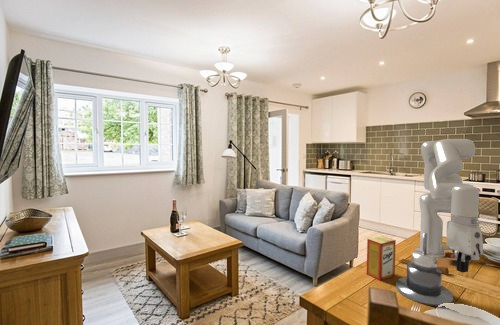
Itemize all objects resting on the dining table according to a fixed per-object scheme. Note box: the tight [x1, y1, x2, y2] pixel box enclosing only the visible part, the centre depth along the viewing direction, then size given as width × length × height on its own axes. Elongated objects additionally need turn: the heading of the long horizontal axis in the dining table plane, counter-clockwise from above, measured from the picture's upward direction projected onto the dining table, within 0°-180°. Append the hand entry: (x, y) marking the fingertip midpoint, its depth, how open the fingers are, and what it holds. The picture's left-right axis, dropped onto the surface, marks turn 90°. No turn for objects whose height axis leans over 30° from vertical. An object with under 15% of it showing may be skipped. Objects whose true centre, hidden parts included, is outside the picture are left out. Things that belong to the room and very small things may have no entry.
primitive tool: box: [398, 258, 450, 276], centre depth 122 cm, size 19×6×4 cm, turn 44°
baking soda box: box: [366, 235, 397, 282], centre depth 113 cm, size 10×6×16 cm
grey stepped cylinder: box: [395, 262, 454, 307], centre depth 99 cm, size 18×18×10 cm
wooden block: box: [411, 233, 457, 272], centre depth 98 cm, size 18×8×13 cm, turn 78°
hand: (462, 271), depth 94 cm, fingers closed
